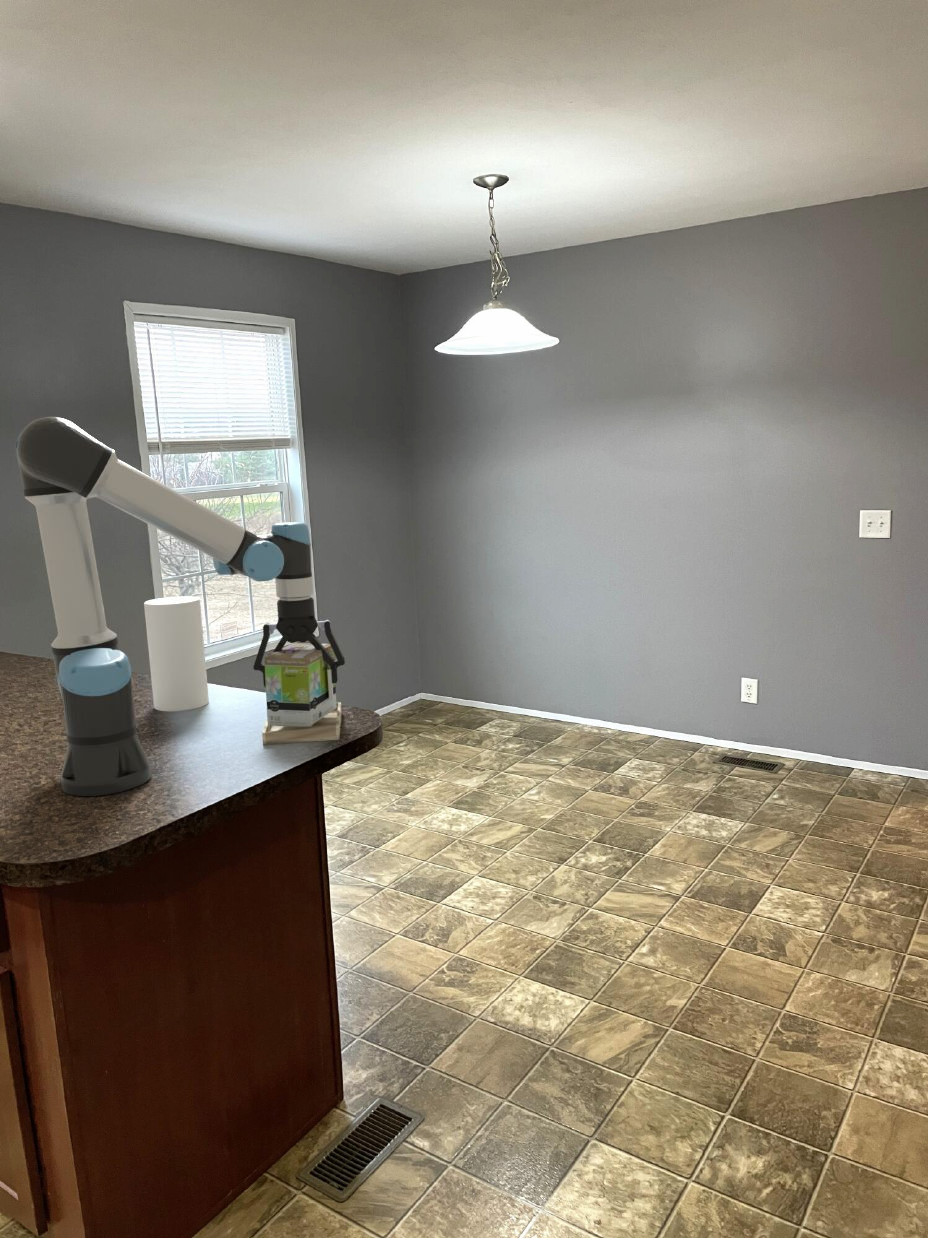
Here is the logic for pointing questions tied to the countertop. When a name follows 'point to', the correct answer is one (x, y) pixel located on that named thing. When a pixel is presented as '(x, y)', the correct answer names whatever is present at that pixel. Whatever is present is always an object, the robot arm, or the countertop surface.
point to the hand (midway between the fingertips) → (302, 700)
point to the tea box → (298, 685)
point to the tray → (305, 730)
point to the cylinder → (176, 653)
